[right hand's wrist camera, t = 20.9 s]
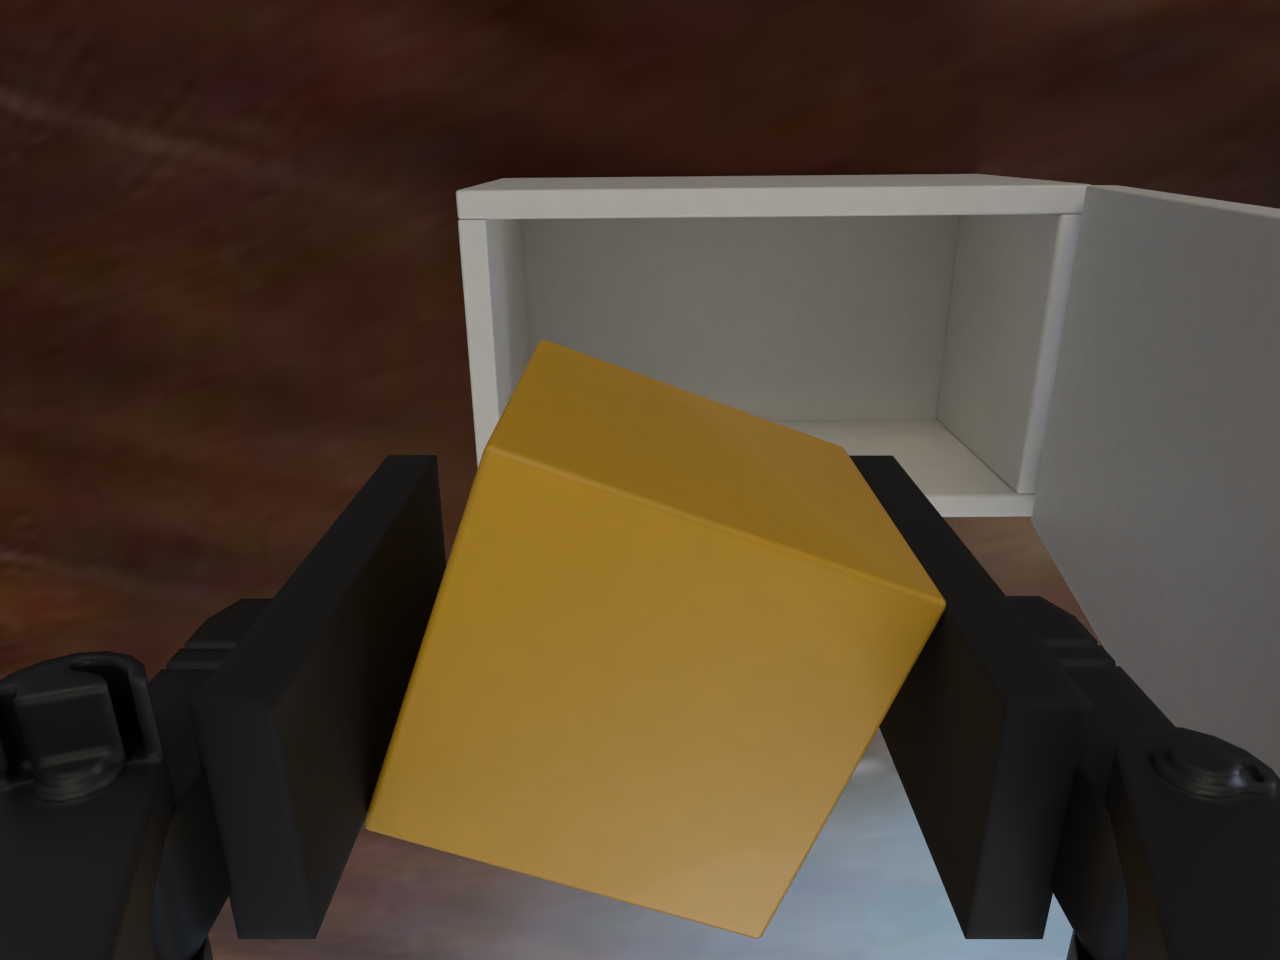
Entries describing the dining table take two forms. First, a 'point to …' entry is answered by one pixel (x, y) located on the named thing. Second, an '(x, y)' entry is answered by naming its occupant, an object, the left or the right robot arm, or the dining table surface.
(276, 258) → the dining table surface
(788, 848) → the block
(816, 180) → the chest
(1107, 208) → the lid
